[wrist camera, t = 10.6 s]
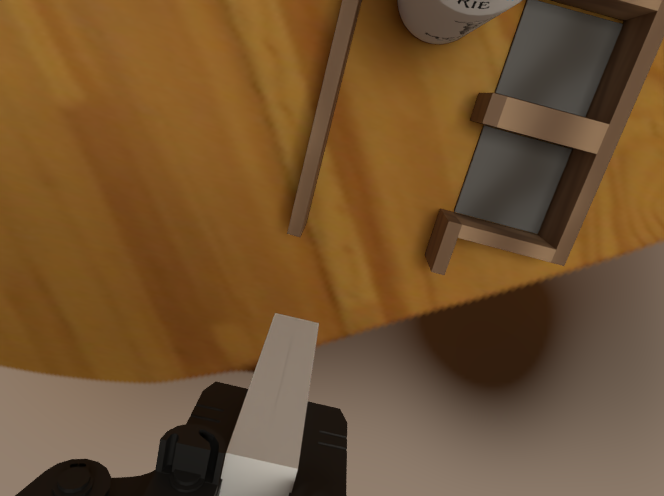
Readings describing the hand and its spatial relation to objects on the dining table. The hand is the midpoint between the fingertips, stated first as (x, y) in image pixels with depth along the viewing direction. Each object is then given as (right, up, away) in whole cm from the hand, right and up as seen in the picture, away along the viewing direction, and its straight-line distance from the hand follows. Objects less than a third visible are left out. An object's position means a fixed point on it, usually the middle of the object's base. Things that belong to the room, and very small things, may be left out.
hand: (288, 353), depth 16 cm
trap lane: (+11, +14, +20) cm, 27 cm away
